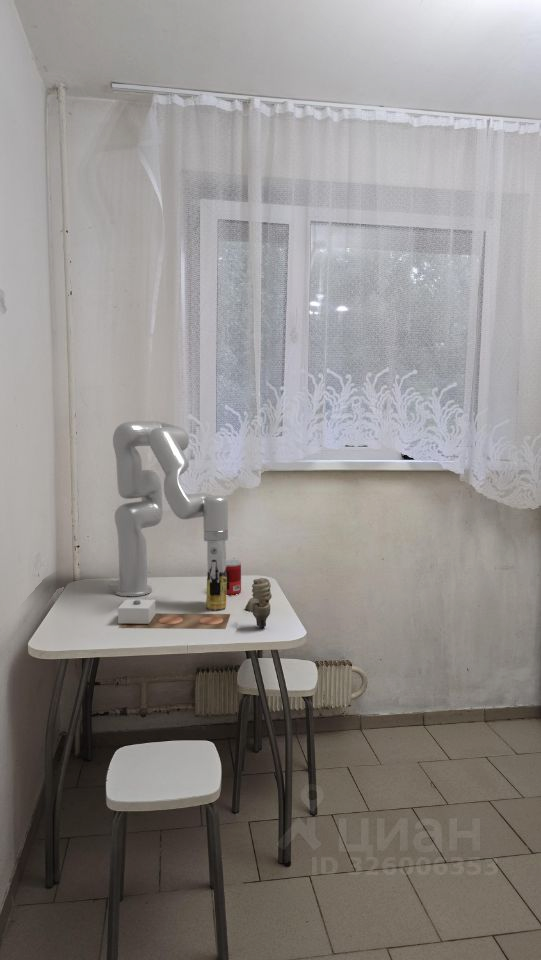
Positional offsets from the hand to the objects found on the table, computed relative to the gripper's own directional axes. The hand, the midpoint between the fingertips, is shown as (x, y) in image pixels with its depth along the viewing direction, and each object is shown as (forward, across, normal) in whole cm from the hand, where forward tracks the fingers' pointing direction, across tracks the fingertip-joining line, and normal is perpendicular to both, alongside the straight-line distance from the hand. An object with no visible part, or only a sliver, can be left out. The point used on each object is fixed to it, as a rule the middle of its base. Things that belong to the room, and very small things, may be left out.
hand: (216, 591), depth 205 cm
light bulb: (+7, -16, -15) cm, 23 cm away
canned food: (+7, +22, -2) cm, 23 cm away
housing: (+5, -13, +22) cm, 26 cm away
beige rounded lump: (+7, +2, -13) cm, 15 cm away
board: (+7, -13, +10) cm, 18 cm away
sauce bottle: (+7, 0, 0) cm, 7 cm away
